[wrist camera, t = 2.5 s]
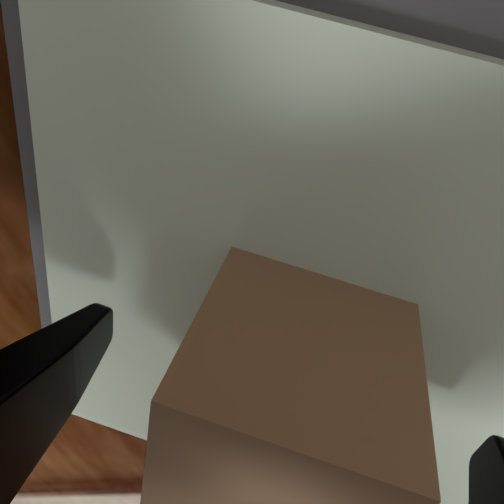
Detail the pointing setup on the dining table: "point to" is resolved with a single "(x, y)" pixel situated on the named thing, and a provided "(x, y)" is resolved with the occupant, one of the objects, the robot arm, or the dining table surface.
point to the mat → (334, 3)
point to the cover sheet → (275, 243)
